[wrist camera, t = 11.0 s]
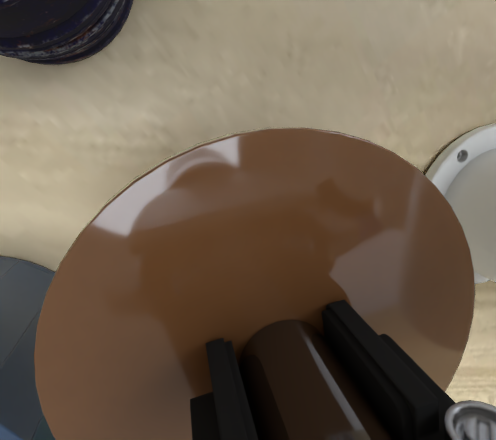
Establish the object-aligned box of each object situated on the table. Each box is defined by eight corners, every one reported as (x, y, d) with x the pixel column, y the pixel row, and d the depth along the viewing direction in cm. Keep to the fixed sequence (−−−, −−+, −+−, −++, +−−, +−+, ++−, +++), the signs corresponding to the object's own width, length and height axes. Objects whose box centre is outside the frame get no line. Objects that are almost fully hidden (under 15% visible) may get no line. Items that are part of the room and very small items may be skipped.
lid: (447, 81, 10) (760, 44, 5) (449, 414, 15) (611, 588, 9) (-42, 194, 8) (-437, 344, 3) (133, 536, 13) (106, 844, 7)
